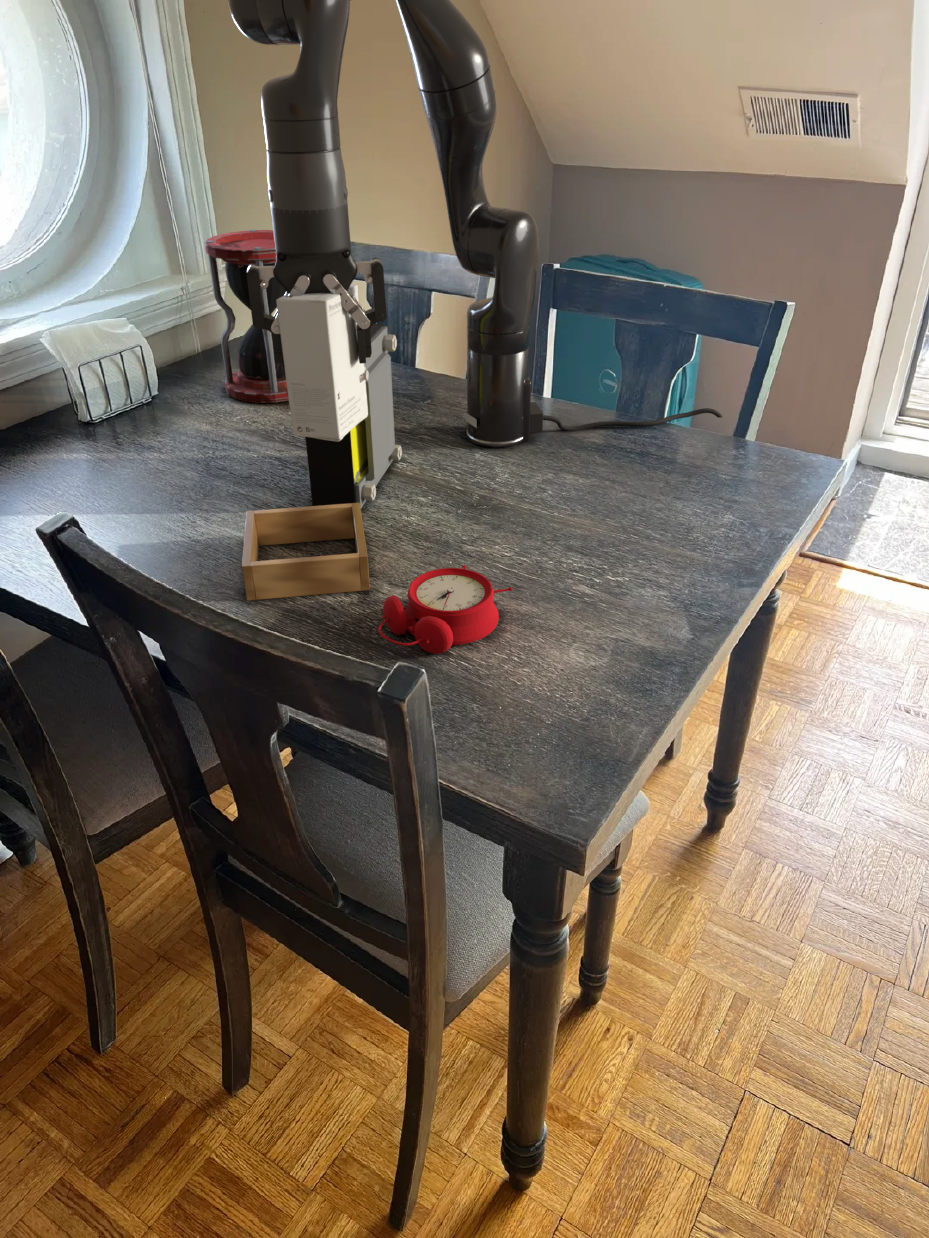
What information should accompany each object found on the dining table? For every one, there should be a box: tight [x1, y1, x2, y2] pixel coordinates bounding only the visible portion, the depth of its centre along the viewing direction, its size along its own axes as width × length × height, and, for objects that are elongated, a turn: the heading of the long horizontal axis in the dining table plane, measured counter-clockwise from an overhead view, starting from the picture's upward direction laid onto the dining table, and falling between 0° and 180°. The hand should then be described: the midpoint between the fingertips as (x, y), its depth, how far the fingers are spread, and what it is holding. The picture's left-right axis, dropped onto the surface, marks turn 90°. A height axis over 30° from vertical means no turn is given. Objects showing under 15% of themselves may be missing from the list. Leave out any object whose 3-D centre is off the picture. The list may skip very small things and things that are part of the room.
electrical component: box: [286, 322, 403, 509], centre depth 128 cm, size 18×10×20 cm, turn 168°
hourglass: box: [203, 229, 289, 404], centre depth 160 cm, size 16×16×25 cm
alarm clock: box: [377, 564, 513, 655], centre depth 101 cm, size 10×6×15 cm
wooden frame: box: [241, 503, 371, 602], centre depth 113 cm, size 14×14×4 cm
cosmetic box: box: [276, 283, 368, 442], centre depth 101 cm, size 8×6×15 cm
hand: (324, 363), depth 101 cm, fingers closed on cosmetic box, 7 cm apart
